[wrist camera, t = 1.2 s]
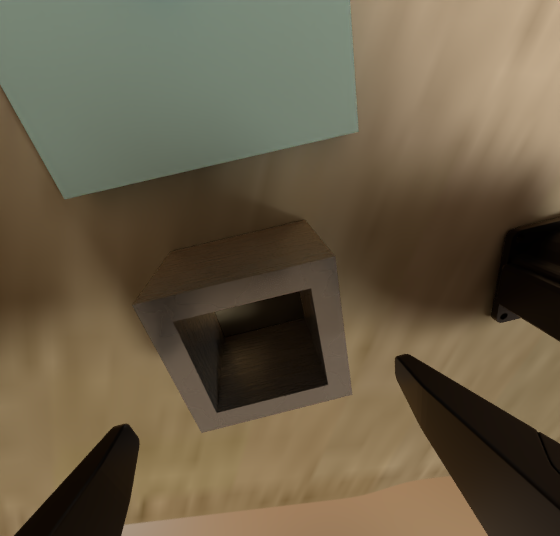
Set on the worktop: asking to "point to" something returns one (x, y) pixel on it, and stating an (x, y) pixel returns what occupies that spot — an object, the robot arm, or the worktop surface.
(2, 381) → the worktop surface
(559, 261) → the robot arm
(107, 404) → the worktop surface
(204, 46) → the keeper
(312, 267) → the link
